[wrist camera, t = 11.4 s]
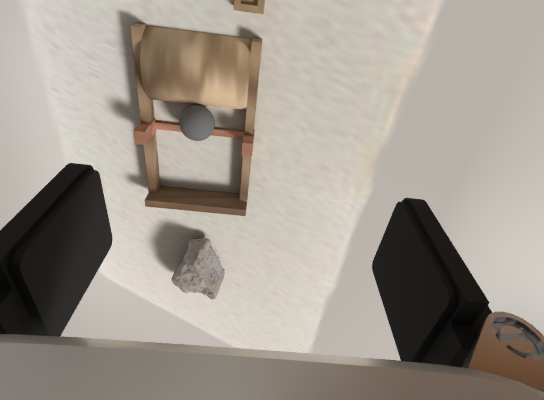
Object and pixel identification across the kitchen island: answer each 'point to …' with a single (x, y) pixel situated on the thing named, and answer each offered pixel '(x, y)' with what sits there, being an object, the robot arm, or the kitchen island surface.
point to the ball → (196, 122)
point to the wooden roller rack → (194, 101)
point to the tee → (249, 6)
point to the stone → (199, 269)
